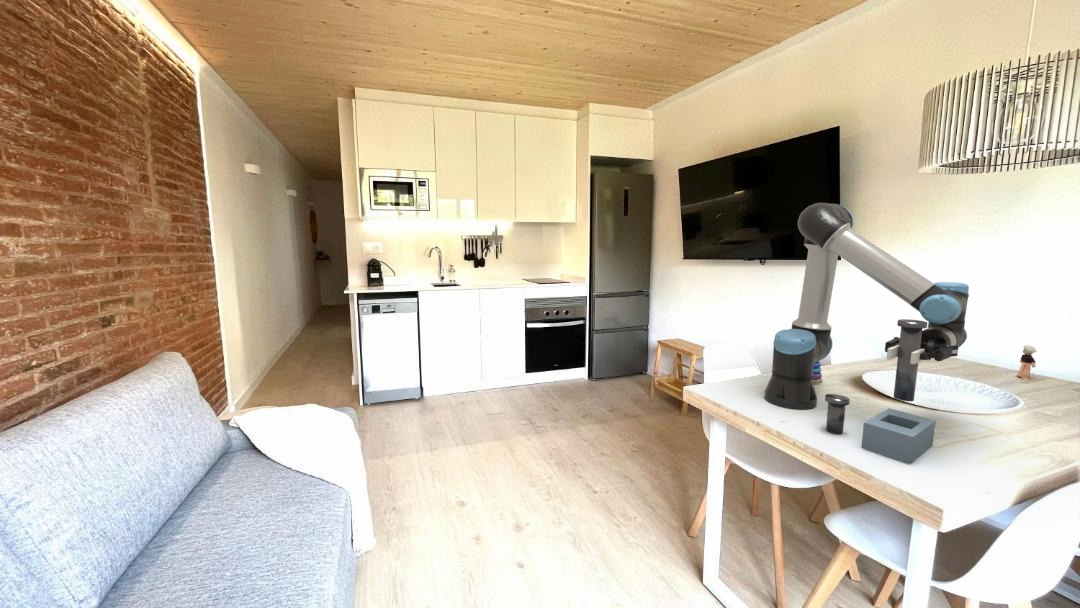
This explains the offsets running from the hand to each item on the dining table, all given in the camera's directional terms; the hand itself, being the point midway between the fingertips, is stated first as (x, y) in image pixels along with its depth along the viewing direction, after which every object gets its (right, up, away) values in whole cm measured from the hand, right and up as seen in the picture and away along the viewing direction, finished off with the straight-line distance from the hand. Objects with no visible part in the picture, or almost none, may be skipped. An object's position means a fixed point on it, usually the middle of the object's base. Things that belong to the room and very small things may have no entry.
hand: (900, 356), depth 105 cm
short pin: (-5, -23, +16) cm, 29 cm away
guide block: (+5, -24, +7) cm, 26 cm away
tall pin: (+5, -11, +5) cm, 13 cm away
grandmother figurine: (+94, -15, +57) cm, 111 cm away
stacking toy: (+14, -17, +57) cm, 61 cm away
